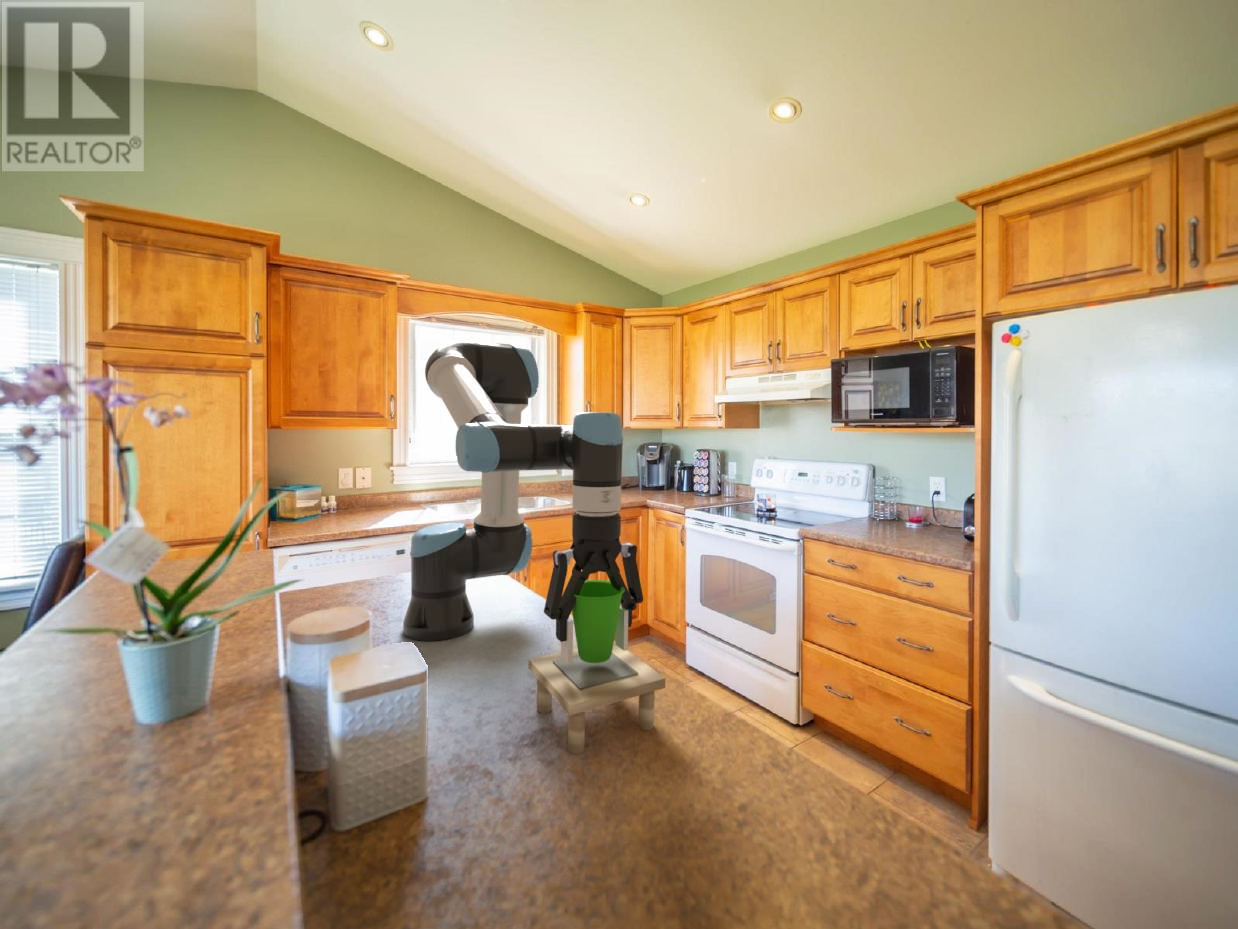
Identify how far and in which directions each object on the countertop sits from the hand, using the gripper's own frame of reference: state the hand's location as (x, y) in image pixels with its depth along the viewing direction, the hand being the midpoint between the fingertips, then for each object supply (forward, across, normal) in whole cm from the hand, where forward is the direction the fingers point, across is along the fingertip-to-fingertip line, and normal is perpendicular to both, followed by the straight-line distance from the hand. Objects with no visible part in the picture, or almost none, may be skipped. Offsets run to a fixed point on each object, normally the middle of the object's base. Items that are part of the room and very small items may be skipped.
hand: (594, 653), depth 81 cm
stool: (+10, 0, 0) cm, 10 cm away
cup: (+1, 0, 0) cm, 1 cm away
